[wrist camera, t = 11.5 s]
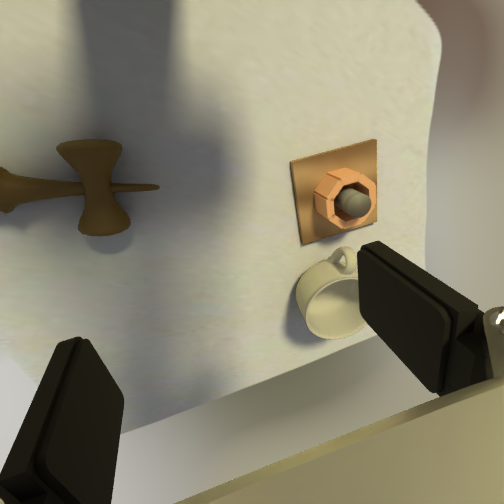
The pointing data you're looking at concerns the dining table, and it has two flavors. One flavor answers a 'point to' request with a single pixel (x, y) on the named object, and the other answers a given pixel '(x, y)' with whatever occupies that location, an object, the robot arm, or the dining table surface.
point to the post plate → (315, 175)
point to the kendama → (79, 186)
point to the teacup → (331, 296)
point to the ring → (332, 187)
